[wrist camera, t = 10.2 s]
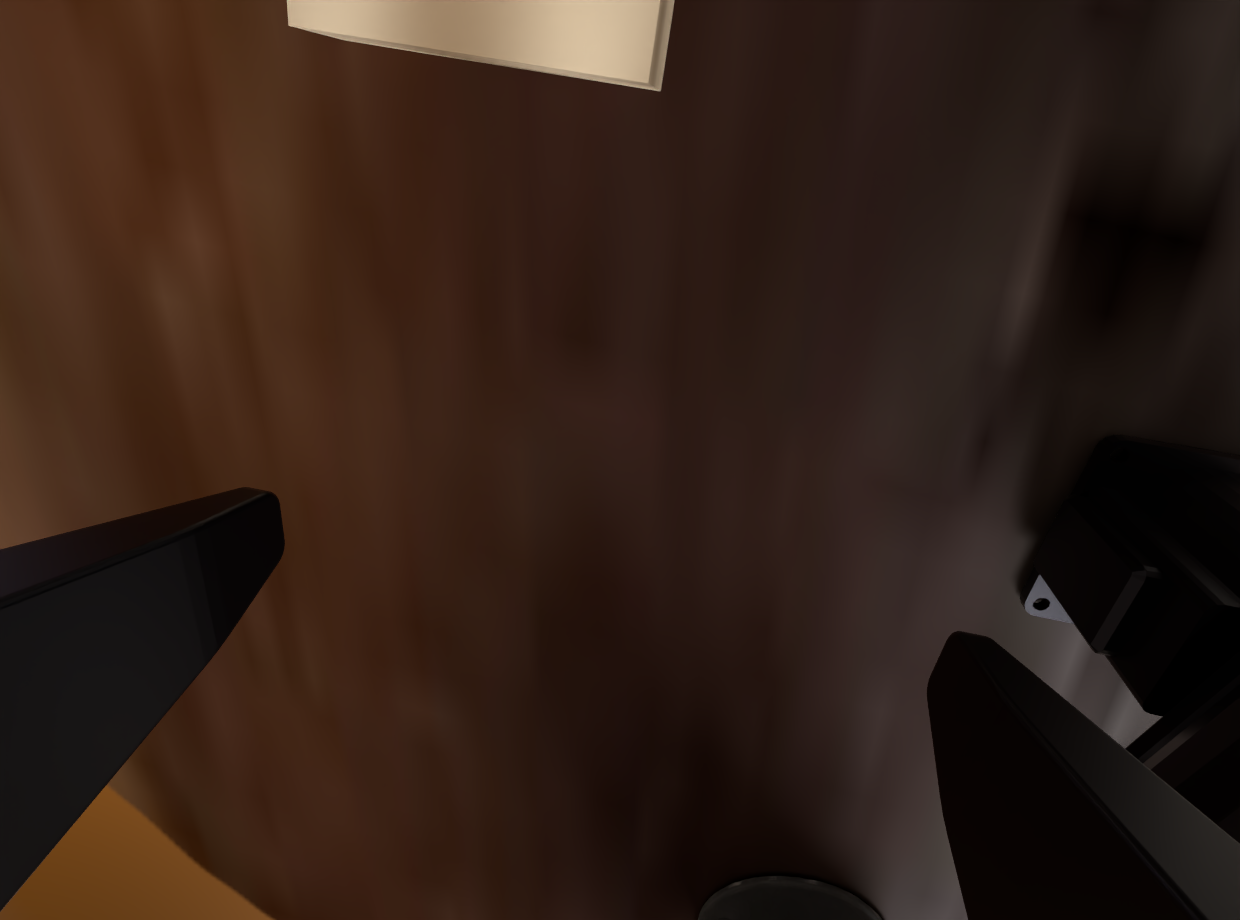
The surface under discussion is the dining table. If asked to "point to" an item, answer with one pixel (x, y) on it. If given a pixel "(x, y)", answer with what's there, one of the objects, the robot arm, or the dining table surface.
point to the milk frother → (784, 901)
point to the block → (510, 32)
